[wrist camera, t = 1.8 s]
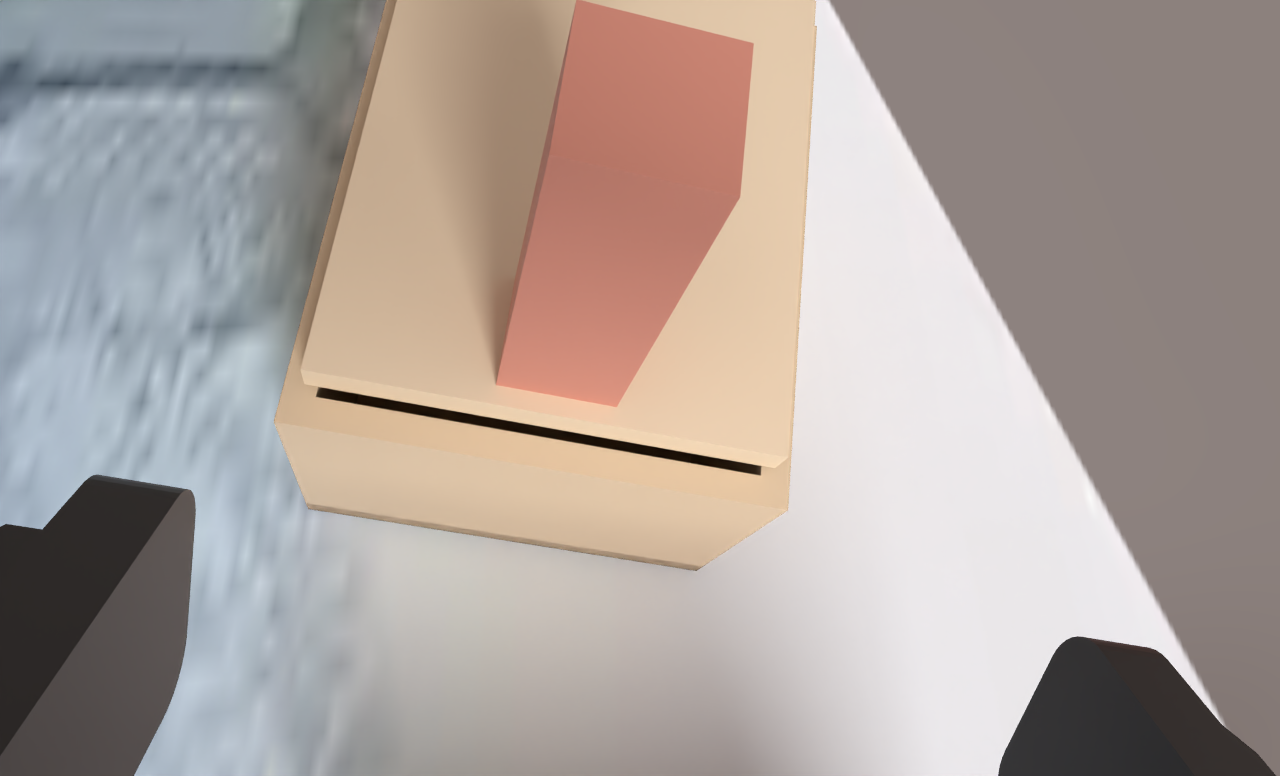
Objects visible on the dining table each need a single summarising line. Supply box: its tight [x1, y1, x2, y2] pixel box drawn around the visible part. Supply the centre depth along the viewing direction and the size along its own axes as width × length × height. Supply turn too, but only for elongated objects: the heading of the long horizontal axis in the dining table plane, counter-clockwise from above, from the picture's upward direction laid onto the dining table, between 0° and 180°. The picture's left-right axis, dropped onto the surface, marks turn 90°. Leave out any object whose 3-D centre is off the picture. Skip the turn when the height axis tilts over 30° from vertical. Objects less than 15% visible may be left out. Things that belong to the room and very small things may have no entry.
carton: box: [274, 0, 817, 571], centre depth 32 cm, size 16×13×9 cm
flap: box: [300, 0, 816, 468], centre depth 23 cm, size 15×12×11 cm
